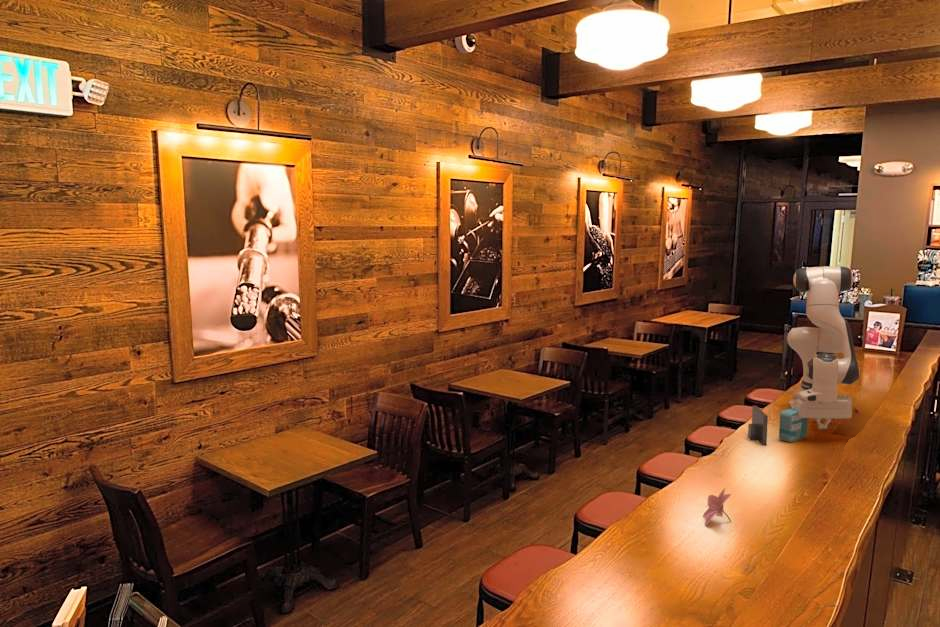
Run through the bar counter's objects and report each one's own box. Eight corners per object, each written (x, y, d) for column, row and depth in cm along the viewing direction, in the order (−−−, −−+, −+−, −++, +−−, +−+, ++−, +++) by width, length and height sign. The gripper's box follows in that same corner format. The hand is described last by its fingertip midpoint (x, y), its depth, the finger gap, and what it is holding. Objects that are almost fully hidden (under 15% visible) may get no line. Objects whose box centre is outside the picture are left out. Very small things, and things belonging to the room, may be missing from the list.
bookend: (743, 433, 260) (745, 405, 258) (755, 433, 259) (756, 405, 258) (754, 445, 246) (755, 415, 244) (766, 445, 246) (767, 415, 244)
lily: (711, 511, 193) (697, 487, 192) (748, 507, 186) (734, 481, 184) (703, 539, 184) (688, 513, 183) (742, 535, 177) (727, 508, 175)
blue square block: (789, 443, 247) (790, 414, 246) (778, 440, 251) (779, 411, 249) (806, 437, 253) (808, 408, 252) (796, 434, 257) (797, 406, 256)
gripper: (848, 392, 249) (846, 425, 251) (794, 392, 251) (792, 425, 253) (856, 397, 242) (854, 431, 245) (800, 397, 245) (798, 430, 247)
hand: (822, 428), depth 249 cm, fingers closed
